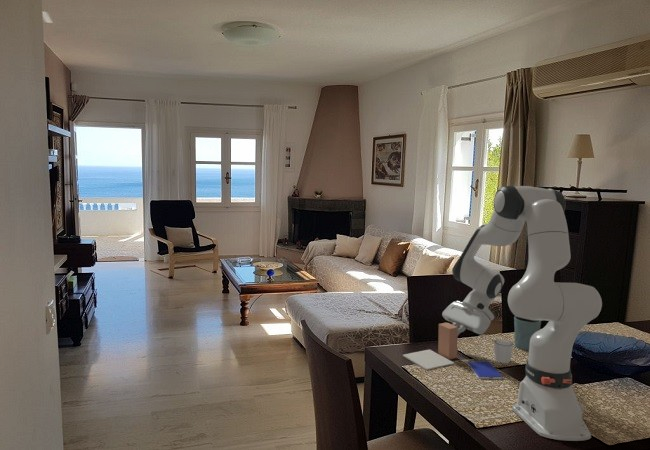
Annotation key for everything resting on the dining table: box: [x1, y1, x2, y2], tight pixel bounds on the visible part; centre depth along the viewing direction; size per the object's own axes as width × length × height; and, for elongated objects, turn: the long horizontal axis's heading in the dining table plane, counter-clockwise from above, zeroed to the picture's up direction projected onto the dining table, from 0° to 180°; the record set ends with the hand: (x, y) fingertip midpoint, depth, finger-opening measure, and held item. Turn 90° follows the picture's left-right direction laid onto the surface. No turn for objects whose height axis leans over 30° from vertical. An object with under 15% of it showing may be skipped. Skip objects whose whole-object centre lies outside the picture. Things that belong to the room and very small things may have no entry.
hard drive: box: [467, 360, 504, 380], centre depth 168 cm, size 2×8×12 cm
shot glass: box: [493, 339, 515, 364], centre depth 178 cm, size 7×7×7 cm
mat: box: [402, 349, 456, 371], centre depth 177 cm, size 14×13×1 cm
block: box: [437, 322, 459, 361], centre depth 180 cm, size 6×4×12 cm, turn 28°
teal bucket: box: [513, 315, 542, 352], centre depth 192 cm, size 10×10×12 cm
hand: (453, 334), depth 181 cm, fingers closed
